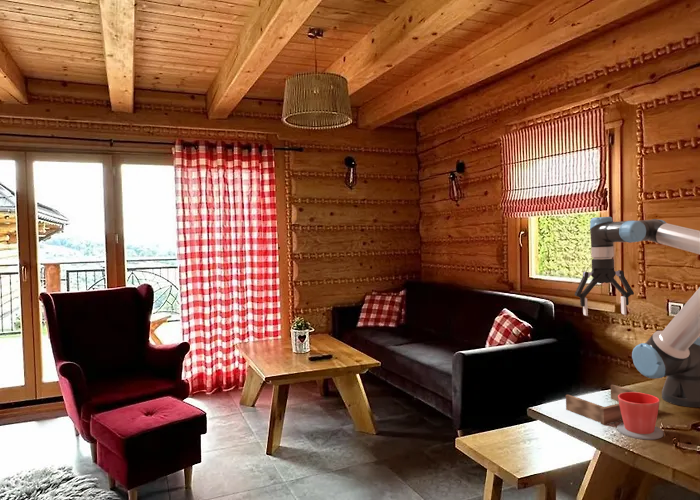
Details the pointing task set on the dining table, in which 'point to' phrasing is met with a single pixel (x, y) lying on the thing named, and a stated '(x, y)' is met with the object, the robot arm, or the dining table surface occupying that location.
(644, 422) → the flower pot
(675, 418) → the dining table surface
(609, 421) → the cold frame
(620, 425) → the slate mat
